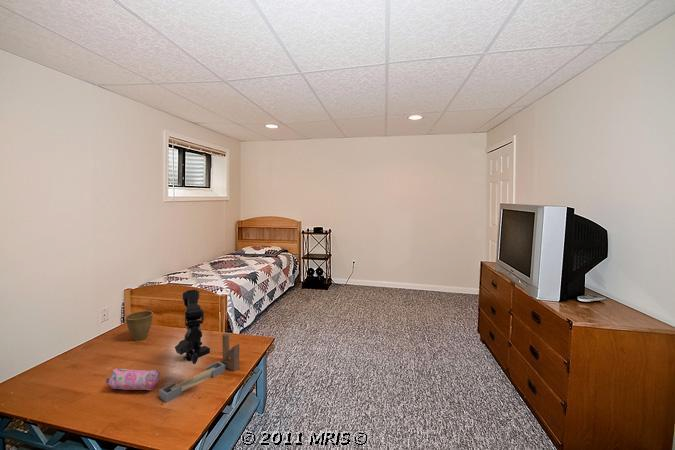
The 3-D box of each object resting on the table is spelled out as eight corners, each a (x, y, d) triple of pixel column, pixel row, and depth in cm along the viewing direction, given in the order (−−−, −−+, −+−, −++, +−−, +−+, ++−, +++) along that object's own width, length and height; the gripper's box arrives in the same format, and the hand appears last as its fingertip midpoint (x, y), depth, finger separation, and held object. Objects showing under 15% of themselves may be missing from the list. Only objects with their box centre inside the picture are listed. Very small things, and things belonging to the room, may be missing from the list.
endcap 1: (159, 396, 131) (159, 389, 131) (174, 388, 137) (174, 382, 137) (166, 402, 127) (165, 394, 127) (181, 394, 133) (181, 386, 133)
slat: (169, 394, 134) (169, 388, 133) (213, 372, 151) (213, 367, 151) (172, 396, 132) (172, 390, 132) (216, 374, 150) (216, 369, 149)
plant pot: (141, 332, 197) (141, 309, 196) (158, 335, 193) (158, 312, 192) (120, 341, 183) (119, 317, 182) (138, 345, 179) (137, 320, 178)
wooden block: (234, 371, 152) (234, 339, 151) (220, 365, 157) (220, 334, 156) (239, 368, 155) (239, 336, 154) (226, 362, 160) (226, 331, 159)
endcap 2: (225, 371, 152) (225, 365, 152) (213, 377, 146) (213, 371, 146) (218, 367, 156) (218, 361, 156) (206, 373, 150) (206, 366, 150)
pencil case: (105, 392, 134) (104, 374, 133) (121, 380, 143) (120, 363, 142) (147, 395, 132) (147, 376, 131) (161, 383, 141) (161, 366, 141)
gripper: (167, 334, 139) (168, 365, 139) (187, 345, 128) (188, 378, 129) (190, 326, 148) (190, 355, 149) (210, 336, 137) (210, 367, 138)
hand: (194, 363), depth 141 cm, fingers closed
